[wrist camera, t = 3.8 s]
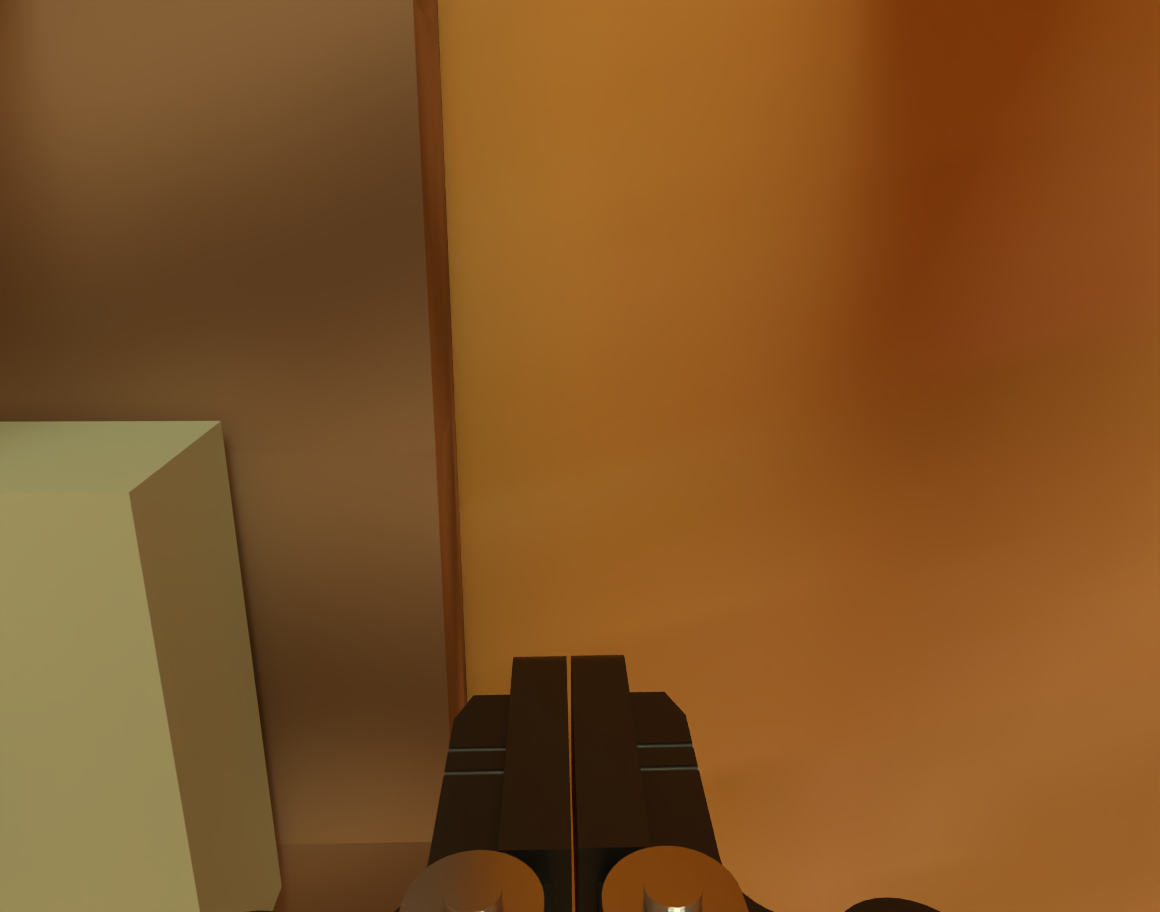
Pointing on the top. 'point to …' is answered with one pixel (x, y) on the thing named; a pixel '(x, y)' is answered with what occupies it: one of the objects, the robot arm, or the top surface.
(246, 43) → the puzzle board
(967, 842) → the top surface
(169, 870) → the lid
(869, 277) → the top surface
